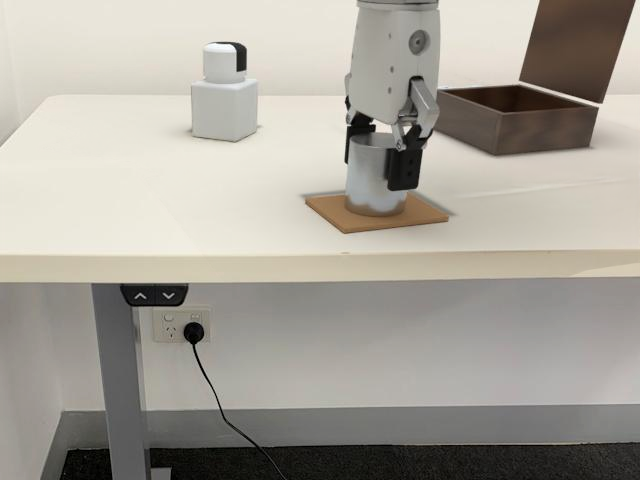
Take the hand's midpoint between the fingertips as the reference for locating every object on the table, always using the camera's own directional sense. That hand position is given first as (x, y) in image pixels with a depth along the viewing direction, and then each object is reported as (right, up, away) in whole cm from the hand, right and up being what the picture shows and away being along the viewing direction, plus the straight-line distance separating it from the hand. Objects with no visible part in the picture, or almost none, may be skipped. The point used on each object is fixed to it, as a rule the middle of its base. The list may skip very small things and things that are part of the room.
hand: (379, 175), depth 78 cm
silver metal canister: (0, -3, +2) cm, 3 cm away
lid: (+30, +26, +22) cm, 45 cm away
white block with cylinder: (-17, +15, +30) cm, 38 cm away
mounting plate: (+25, +25, +47) cm, 59 cm away
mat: (0, -3, +2) cm, 4 cm away
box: (+23, +13, +27) cm, 38 cm away
